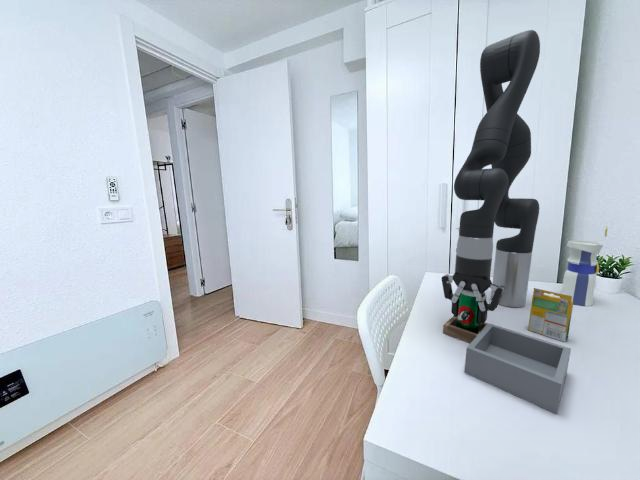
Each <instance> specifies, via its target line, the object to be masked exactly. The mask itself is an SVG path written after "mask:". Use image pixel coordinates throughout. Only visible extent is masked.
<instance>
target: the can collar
mask: <svg viewBox="0 0 640 480" xmlns="http://www.w3.org/2000/svg"><path fill="white" fill-rule="evenodd" d="M456 322H457V317H454V316H453V315H452V317H451V318H449V319H448V320H447V321H446V322H445V323H443V327H442V334H444V335H446V336H448V337H452V338H453V339H456V340H459V341H461V342H462V341H463V342H465V343H466V344H467V343H468V344H470V343H471V342H472V341H473V340H474V339H475V338H476V337H477V336H478V335H479V333H480V332H481V331H482V330H483V329H484V328H485V327H486V326H487V325H488V324H489V323H488V322H485V323H483V324H482V325H479V333H478V334H476V333H473V332H470V331H467V330H464V329H461V328H458V327H456Z"/></svg>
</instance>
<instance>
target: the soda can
mask: <svg viewBox="0 0 640 480" xmlns="http://www.w3.org/2000/svg"><path fill="white" fill-rule="evenodd" d="M481 297H482V294H481ZM479 310H480V308H479V305H478V302H477V301H476V296H475V295H474V292H473V291H470V290H466V289H464V290H462V292H461V293H460V295H459V298H458V310H457V322H456V327H458V328H461V329H464V330H467V331H470V332H473V333H476V334H478V333H479V324H478V313H479Z"/></svg>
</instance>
